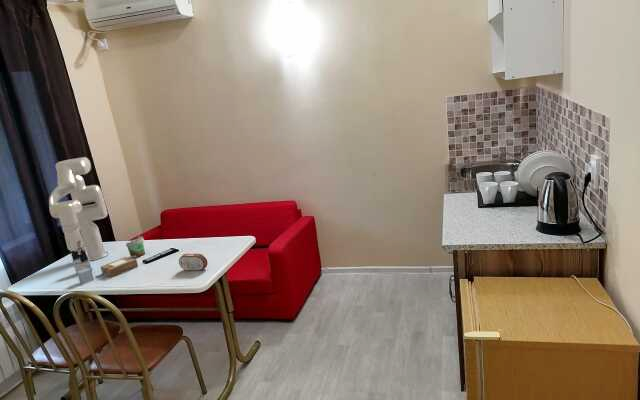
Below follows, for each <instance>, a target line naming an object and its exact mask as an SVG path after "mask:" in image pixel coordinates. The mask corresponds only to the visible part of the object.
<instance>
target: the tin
mask: <svg viewBox="0 0 640 400" xmlns="http://www.w3.org/2000/svg"><path fill="white" fill-rule="evenodd" d="M178 264H179V266H180V268H181V269H182V270H184V271H186V272H195V271H196V272H200V271H203V270H205V269H206V268H207V267H208V264H209V263H208V259H207V258H206V257H205V255H203V254H201V253H183V254H182V256H180V257H179V258H178Z"/></svg>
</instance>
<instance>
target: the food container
mask: <svg viewBox="0 0 640 400" xmlns="http://www.w3.org/2000/svg"><path fill="white" fill-rule="evenodd" d="M144 241H145V239H144V237H143V236H142V235H138V236H137V238H136V239H132V240H131V241H129V242H126V243H125V246H126V247H127V249H128V252H129V253H128V254H129V255H130V258H132V259H137V258H142V257H143V256H145V255H146V252H145V246H144ZM141 256H142V257H141Z"/></svg>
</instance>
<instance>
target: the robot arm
mask: <svg viewBox="0 0 640 400" xmlns="http://www.w3.org/2000/svg"><path fill="white" fill-rule="evenodd" d="M55 170H56V173H57V175H56V177H57V186H56V188H54V189H53V191H52V192H51V194H50V196H49V197H48V205H49V207H48V208H49V213H50V215H51V217H52V218H54V219H59V222H60V226H61V229H62V232H63V233H64V239H65V243H66V247H67V250H69V252H70V253H71V258H72V261H73V260H76V259H79V258H80V260H81V262H84V261H87V260H88V258H87V255H89V259H90V262H91V261H97V260H99V259H102V258H105V257H106V256H108V255H109V251H106V250H105V247H104V243H103V240H102V236H101V233H100V230H99V227H98V225H97V224H96V223H95V222H94V221H97V220H102V219H105V218H107V217H108V214H109V213H108V209H107V205H106V201H105V199H104V195H103V191H102V189H101V187H100V186H99V185H97V184H91V185H86V184H85V180H84V177H83V176H81V175H87V174H88V173H89V172H90V171H91V170H92V163H91V161H90V160H89V158H87V157H86V156H84V157H77V158H70V159H66V160H62V161H58V162H57V163H55ZM69 194H70V197H71V199H72V200H66V201H60V200H61V199H62V198H64V197H66V196H67V195H69ZM93 202H94V203H93ZM89 203H91V204H89ZM92 203H93V204H92ZM84 204H86V205H84Z"/></svg>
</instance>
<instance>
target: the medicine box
mask: <svg viewBox="0 0 640 400" xmlns="http://www.w3.org/2000/svg"><path fill="white" fill-rule="evenodd" d="M86 255H87V254H86ZM87 258H88V260H87V261H84V262H81V260H80V258H79V259H76V260H73V259H72V264H73V268H74V270H75V274H76V276H78V274H77V272H78V271H80V270H83V269H86V268H88V269H91V271H92V272H93V266H92V263H91V261H90V259H89V255H87Z"/></svg>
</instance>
